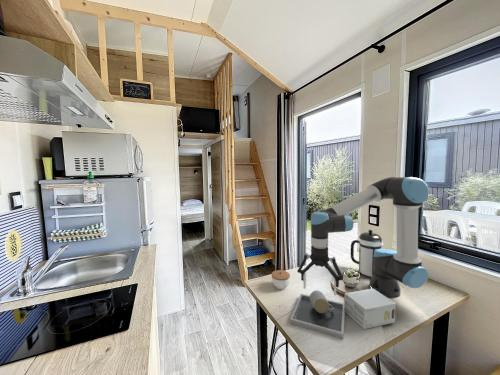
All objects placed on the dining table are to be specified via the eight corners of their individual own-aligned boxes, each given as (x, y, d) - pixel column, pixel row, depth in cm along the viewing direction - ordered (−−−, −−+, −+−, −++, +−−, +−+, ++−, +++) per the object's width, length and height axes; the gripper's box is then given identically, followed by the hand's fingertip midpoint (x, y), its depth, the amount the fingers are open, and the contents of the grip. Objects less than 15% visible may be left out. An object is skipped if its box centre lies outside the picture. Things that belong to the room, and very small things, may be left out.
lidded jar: (272, 281, 133) (272, 266, 133) (290, 283, 131) (290, 268, 130) (270, 290, 123) (270, 275, 122) (289, 292, 121) (289, 276, 120)
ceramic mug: (314, 314, 99) (315, 297, 100) (308, 305, 108) (309, 289, 108) (336, 315, 100) (337, 298, 100) (329, 306, 108) (330, 290, 108)
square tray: (345, 307, 107) (345, 303, 106) (343, 339, 87) (343, 334, 87) (300, 297, 116) (300, 293, 116) (290, 323, 96) (290, 319, 96)
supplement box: (364, 330, 92) (364, 309, 91) (343, 311, 104) (343, 292, 104) (395, 322, 96) (396, 302, 95) (372, 305, 108) (372, 287, 108)
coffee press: (377, 270, 146) (378, 226, 144) (386, 281, 131) (388, 233, 129) (350, 268, 150) (350, 225, 148) (355, 279, 135) (356, 232, 133)
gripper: (349, 246, 97) (348, 291, 99) (294, 240, 108) (295, 281, 109) (349, 252, 90) (348, 300, 92) (290, 245, 101) (291, 288, 102)
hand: (319, 290), depth 101 cm, fingers open, 13 cm apart
